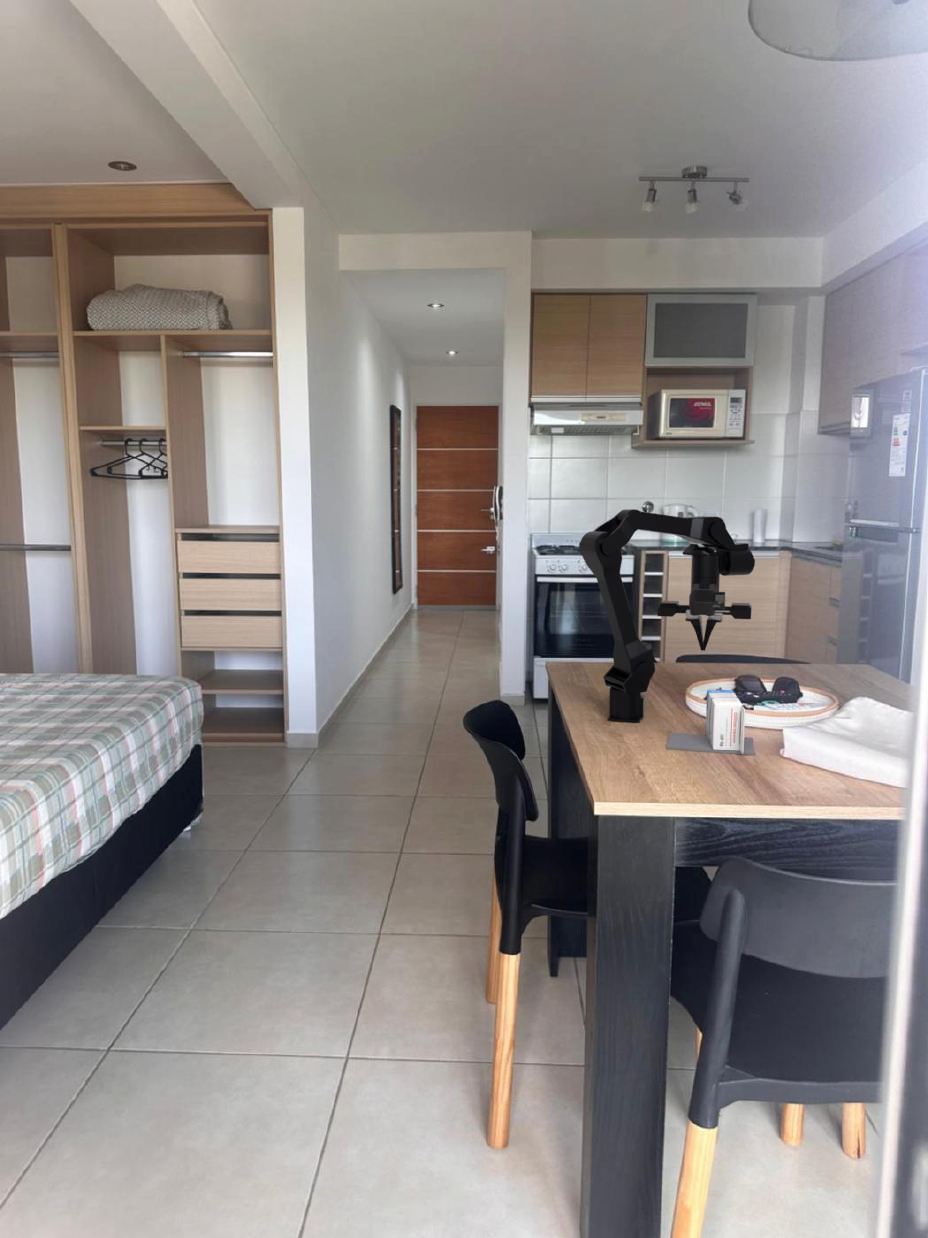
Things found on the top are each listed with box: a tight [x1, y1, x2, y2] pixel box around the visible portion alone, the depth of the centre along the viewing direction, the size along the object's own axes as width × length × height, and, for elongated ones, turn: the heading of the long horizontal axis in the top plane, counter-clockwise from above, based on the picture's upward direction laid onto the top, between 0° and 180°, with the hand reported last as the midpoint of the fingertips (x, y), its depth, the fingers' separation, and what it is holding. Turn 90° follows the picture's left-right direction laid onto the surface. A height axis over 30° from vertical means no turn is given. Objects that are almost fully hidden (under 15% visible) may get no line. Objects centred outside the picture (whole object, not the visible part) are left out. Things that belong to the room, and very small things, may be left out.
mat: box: [666, 731, 756, 756], centre depth 152 cm, size 15×10×1 cm, turn 73°
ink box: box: [705, 689, 746, 755], centre depth 150 cm, size 8×5×15 cm
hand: (703, 650), depth 176 cm, fingers closed
